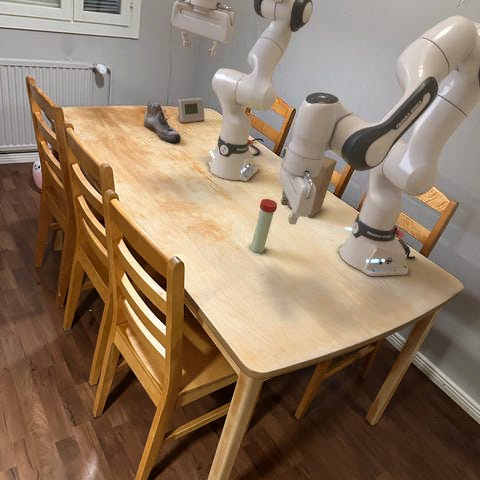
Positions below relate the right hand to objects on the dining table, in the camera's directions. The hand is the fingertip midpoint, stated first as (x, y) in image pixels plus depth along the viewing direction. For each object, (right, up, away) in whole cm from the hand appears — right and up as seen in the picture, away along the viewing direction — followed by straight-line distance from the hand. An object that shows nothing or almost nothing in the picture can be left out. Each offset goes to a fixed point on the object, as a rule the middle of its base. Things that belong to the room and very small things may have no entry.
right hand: (287, 213), depth 112 cm
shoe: (-48, +42, +89) cm, 110 cm away
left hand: (-24, +49, +19) cm, 58 cm away
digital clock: (-38, +54, +112) cm, 130 cm away
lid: (-4, +4, +16) cm, 17 cm away
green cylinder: (-7, -10, +24) cm, 27 cm away
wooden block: (+12, +5, +54) cm, 55 cm away
